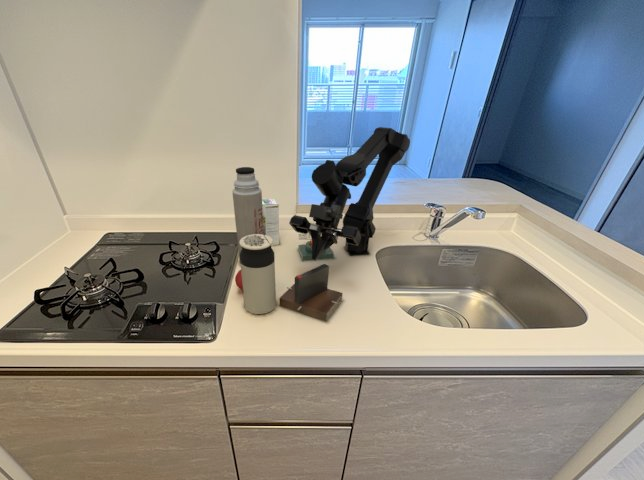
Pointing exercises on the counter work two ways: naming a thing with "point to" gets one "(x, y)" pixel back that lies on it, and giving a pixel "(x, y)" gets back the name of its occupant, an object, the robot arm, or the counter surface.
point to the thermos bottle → (247, 204)
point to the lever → (311, 283)
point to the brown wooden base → (312, 303)
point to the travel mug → (258, 273)
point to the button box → (307, 252)
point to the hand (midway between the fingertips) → (313, 259)
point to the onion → (239, 280)
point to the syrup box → (271, 219)
